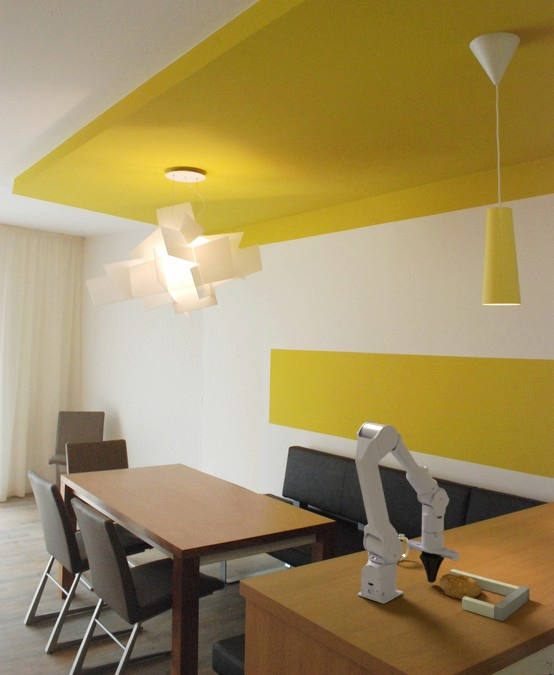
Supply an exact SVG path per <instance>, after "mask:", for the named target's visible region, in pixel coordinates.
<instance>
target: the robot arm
mask: <svg viewBox="0 0 554 675" xmlns="http://www.w3.org/2000/svg"><path fill="white" fill-rule="evenodd" d="M355 436H356V441H357V444H356V449H355V450H356V451H355V456H354V460H355V461H354V462H355V466H356V472H357V475H358V482H359V486H360V491H361V495H362V500H363V506H364V510H365V515H366V520H367V524H366V525H365V526H364V527H363V533H364V534H363V535H364V536H363V542H362V543H363V547H364V549H365V550H366V551H367V557H368V558H367V559H368V561H367V563H366V564H365V565H364V566H363V567H362V568H361V572H360V592H358V593H357V596H359V597H362V598H364V599H369V600H372V601H374V602H378V603H380V604H387V603H388V602H390V601H392V600H394V599H396V598H397V597H399V596H401V595H403V593H404V591H403V590H400V589H399V590H398V589H397V574H398V573H397V572H398V571H397V570H398V569H397V567H398V566H397V563H399V561H398V560H399V559H400V557H402V556H403V554H404V553H403V552H404V545H403V541H401V540H399V538H398V535H399V534H398V535H397V533H398V532H397V530H396V529H395V527H394V525H392V524H391V522H390V517H389V513H388V509H387V504H386V497H385V494H384V488H383V484H382V478H381V474H380V469H379V463H380V462H381V460H383V458H385V457H386V456H387V455H388V454H389V453H390V454H392V456H393V457H394V459H395V460H396V461H397V462H398V463H399V464H400V465H401V467H402V468H403V469H404V470H405V471H406V474H405V477H406V480H407V481H408V482H409V484H410V486H412V488H413V489H414V491H415V492H416V493H417V496H416V497H417V498H416V499H417V500H418V502H420V503H421V512H422V513H421V541H416V540H409V541H408V542H407V549H409V550H414V551H418V552H421V554H419V560H420V561H421V563H422V565H423V567H424V570H425V573H426V577H427V579H426V580H427V582H429V583H431V584H433V583H435V582H436V580H437V576H438V573H439V570H440V568H441V565H442V563H443V562H444V559H449V560H452V561H453V562H457V561H459V560H460V552H459V551H457V550H453V549H450V548H448V547H446V546H444V530H445V527H444V526H445V525H444V524H445V522H444V521H445V520H444V517H445V515H446V510H447V509H446V508H447V506H448V505H449V503H450V497H449V496H448V493H447V492H446V489H444V488H442V487H439V485H438V481H437V480H435V479H434V478H433V477H432V475H431V474H430V472H429V471H430V470H429V468H428V466H424V465H423V464H418V463H417V461H416V460H415V458H414V457H413V455H412V454H411V452H410V451H409V449H408V448H407V447H408V446H406V444H405V443H404V441H403V436H402V434H400V432H398V430H397V428H396V427H395V426H393V425H391V424H381V423H376V422H374V421H366V422H364V423H363V424H362V425H360V426H359V429H358V430H357V431H356V434H355Z"/></svg>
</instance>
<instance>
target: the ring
mask: <svg viewBox="0 0 554 675" xmlns="http://www.w3.org/2000/svg"><path fill="white" fill-rule="evenodd" d="M397 535H398V538H399V540H400V541H401V540H402V542H403V543H404V545H405V549H404V553H403V554H402V556H401V557H400V559H399V560H398V562H402V560H405V559H406V558H407V556H408V555H409V552H410V549H407V542H408V541H410V540H409V539H408V537H406V536H405V535H406V534H405V533H404V534H403V533H398V532H397Z"/></svg>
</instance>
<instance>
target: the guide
mask: <svg viewBox="0 0 554 675" xmlns="http://www.w3.org/2000/svg"><path fill="white" fill-rule="evenodd" d="M449 573H453V574H456V575H466V576H468V577H471V578H472V579H474V580H475V581H476V582H477V583H478V584H479V585H480V586H481V589H482V591H483V590H484V591H488V592H491V593H494V594H498V595H502V596H504V598H503V599H501V600H500V601H499V602H498V603H496V604H492V603H490V602H487V601H483V600H479V599H476V598H470V597H466V596H465V597H464V598H462V599H461V609H462V610H465V611H467V612H471V613H474V614H477V615H480V616H484V617H487V618H491V619H493V620H497V621H500V622H503V621H504V620H506V619H507V618H509V617H510V616H511V615H513V613H515V612H516V611H517V610H518V609H520V608H521V607H522V606H523V605H525V604H526V603H527V602H528V601H530V596H531V595H530V590H531V589H530V587H529V586H525V585H520V586H518V585H513V584H510V583H506V582H502V581H499V580H495V579H492V578H488V577H484V576H480V575H477V574H473V573H469V572H466V571H463V570H458V569H455V568H454V569H453V568H451V569H450V570H449Z"/></svg>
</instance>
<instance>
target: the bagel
mask: <svg viewBox="0 0 554 675" xmlns="http://www.w3.org/2000/svg"><path fill="white" fill-rule="evenodd" d="M438 582H439V586H440V589H441V590H442V591H443V592H444V594H445V595H447V596H448V597H451V598H454V599H457V600H458V599H460V600H462V598H464V597H465V596H466V597H470V598H473V599H476V598H477V597H478V596H480V595H481V594H482V592H483V589H481V586H480V585H479V584H478V583H477V582H476V581H475V580H474V579H472V578H471V577H468V576H466V575H456V574H453V573H450V572H449V573H446V574H443V575H442V576H441V577H440V579H439V581H438Z"/></svg>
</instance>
